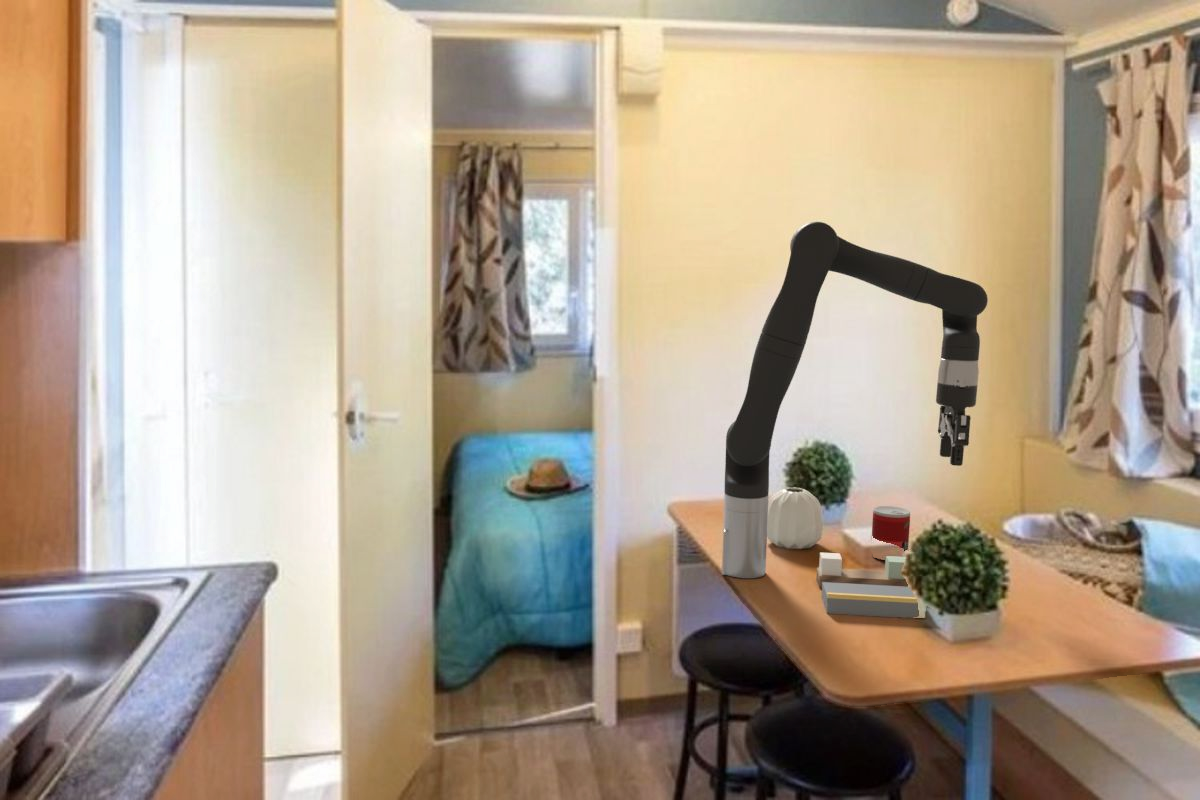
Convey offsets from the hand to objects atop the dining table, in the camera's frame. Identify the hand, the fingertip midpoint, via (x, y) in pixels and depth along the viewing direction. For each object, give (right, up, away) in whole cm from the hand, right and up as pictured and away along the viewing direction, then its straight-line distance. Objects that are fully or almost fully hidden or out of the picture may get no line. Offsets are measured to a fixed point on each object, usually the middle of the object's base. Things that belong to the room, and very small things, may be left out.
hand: (950, 460), depth 182 cm
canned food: (-6, -24, +21) cm, 32 cm away
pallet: (-18, -26, +2) cm, 32 cm away
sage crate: (-11, -24, 0) cm, 26 cm away
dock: (-19, -28, -10) cm, 35 cm away
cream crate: (-24, -23, +2) cm, 33 cm away
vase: (-26, -22, +30) cm, 45 cm away
